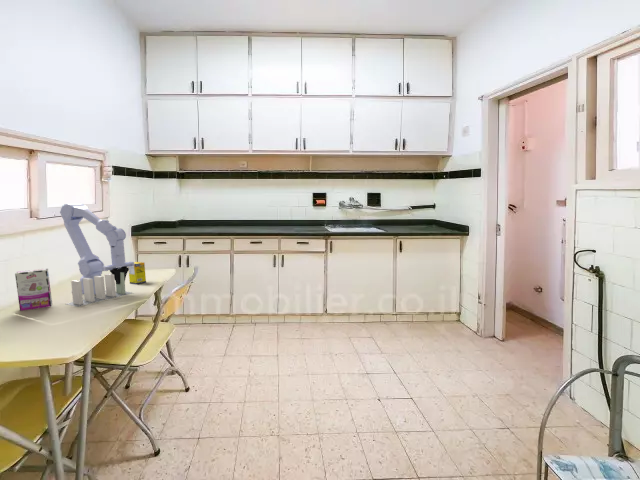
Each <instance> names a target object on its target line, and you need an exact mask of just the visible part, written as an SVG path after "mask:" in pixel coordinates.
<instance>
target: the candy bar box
mask: <svg viewBox="0 0 640 480" xmlns="http://www.w3.org/2000/svg"><path fill="white" fill-rule="evenodd" d="M14 276H15V283H16V289H17V290H16V292H17V299H18V306H19V311H20V312H21V311H28V310H36V309H42V308H45V309H46V308H50V307H52V306H53V299H52V292H51V291H52V290H51V284H50V283H51V282H50V274H49V268H41V269H40V268H39V269H31V270H22V271H16V272H15V273H14Z"/></svg>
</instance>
